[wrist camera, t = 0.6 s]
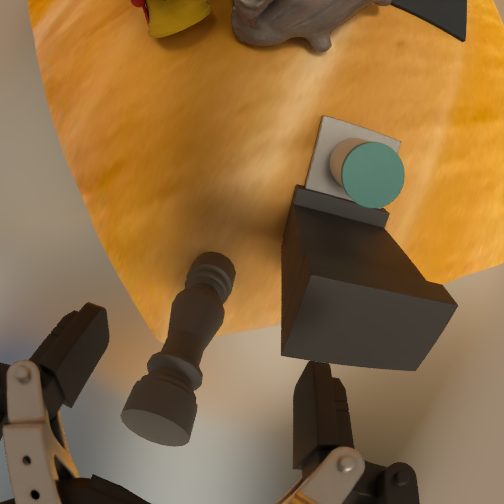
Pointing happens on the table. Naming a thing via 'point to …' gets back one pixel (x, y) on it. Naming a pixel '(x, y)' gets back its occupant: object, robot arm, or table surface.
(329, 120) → the coffee maker
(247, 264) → the table surface
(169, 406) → the candle holder
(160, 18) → the ornament
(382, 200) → the container
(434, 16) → the mat
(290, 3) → the piggy bank
